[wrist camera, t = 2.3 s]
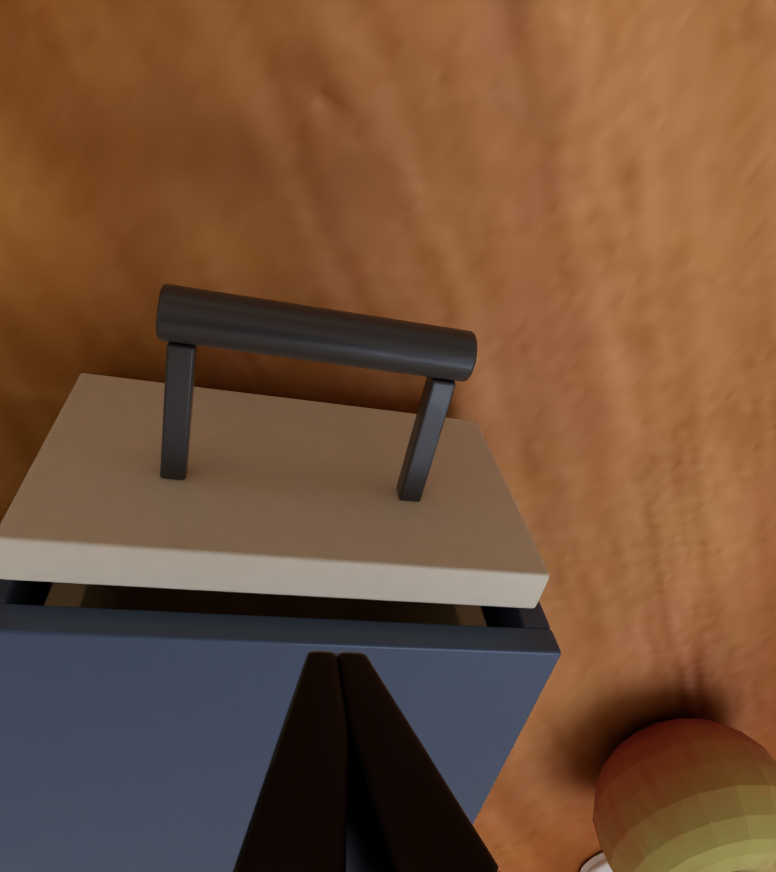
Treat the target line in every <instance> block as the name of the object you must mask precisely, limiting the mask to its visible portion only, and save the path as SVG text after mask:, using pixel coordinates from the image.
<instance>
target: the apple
mask: <svg viewBox="0 0 776 872" xmlns="http://www.w3.org/2000/svg"><path fill="white" fill-rule="evenodd" d="M593 822H594V826H595V829H596V833H597V836H598V840H599V844H600V846H601V848H602V850H603V853H604V855H605V857H606V860H607V862H608V864H609V866H610V868H611V870H612V871H613V872H776V762H775V761H774V759H773V758H772V757H771V755H770V754H769V753H768V752H767V750H766V749H765V748H764V747H763V746H762V745H760V744H759V743H757V742H756V741H754V740H753V739H751V738H750V737H748V736H747V735H745V734H744V733H742V732H741V731H738V730H736V729H733V728H730V727H728V726H725V725H722V724H719V723H716V722H714V721H711V720H708V719H697V718H677V719H672V720H667V721H663V722H659V723H654V724H652V725H650V726H648V727H645V728H643V729H641V730H639V731H637V732H635V733H634V734H633V735H631V736H630V737H628V738H627V739H626V740H624V741H623V742H622V743H620V744H619V745H618V746H617V747H616V749H615V750H614V751H613V753H612V754H611V755H610V757H609V758H608V759H607V761H606V762H605V763H604V765H603V766H602V769H601V771H600V774H599V776H598V780H597V786H596V792H595V800H594V812H593Z"/></svg>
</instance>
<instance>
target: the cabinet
mask: <svg viewBox="0 0 776 872" xmlns="http://www.w3.org/2000/svg"><path fill="white" fill-rule="evenodd" d="M52 583H53V582H41V581H22V580H4V579H0V872H233V869H234V866H235V863H236V860H237V857H238V854H239V851H240V849H241V846H242V843H243V840H244V837H245V834H246V831H247V828H248V825H249V822H250V819H251V816H252V813H253V811H254V808H255V805H256V802H257V799H258V796H259V793H260V790H261V787H262V784H263V781H264V778H265V775H266V773H267V770H268V767H269V764H270V761H271V758H272V755H273V752H274V749H275V746H276V743H277V740H278V737H279V735H280V732H281V729H282V726H283V723H284V720H285V717H286V714H287V711H288V708H289V705H290V702H291V699H292V697H293V694H294V691H295V688H296V685H297V682H298V679H299V676H300V673H301V670H302V667H303V664H304V661H305V658H306V656H307V654H308V652H309V651H312V650H316V651H333V652H334V653H335V654H336V655H337V654H338V653H339V652H342V651H343V652H362V653H364V654H366V655H367V657H368V658H369V660H370V661H371V663H372V664H373V666H374V668H375V669H376V671H377V672H378V674H379V676H380V677H381V679H382V680H383V682H384V684H385V685H386V687H387V689H388V690H389V692H390V693H391V695H392V697H393V698H394V700H395V701H396V703H397V705H398V706H399V708H400V709H401V711H402V713H403V714H404V716H405V717H406V719H407V721H408V722H409V724H410V725H411V727H412V729H413V730H414V732H415V733H416V735H417V737H418V738H419V740H420V741H421V743H422V745H423V746H424V748H425V750H426V751H427V753H428V754H429V756H430V758H431V759H432V761H433V762H434V764H435V766H436V767H437V769H438V770H439V772H440V774H441V775H442V777H443V778H444V780H445V782H446V783H447V785H448V786H449V788H450V790H451V791H452V793H453V794H454V796H455V798H456V799H457V801H458V802H459V804H460V806H461V807H462V809H463V811H464V812H465V814H466V815H467V817H468V819H469V820H470V822H471V823H472V825H473V823H474V821H475V819H476V817H477V815H478V813H479V811H480V809H481V808H482V806H483V804H484V802H485V800H486V798H487V796H488V794H489V792H490V790H491V788H492V786H493V784H494V782H495V780H496V779H497V777H498V775H499V773H500V771H501V769H502V767H503V765H504V763H505V761H506V759H507V757H508V755H509V753H510V751H511V750H512V748H513V746H514V744H515V742H516V740H517V738H518V736H519V734H520V732H521V730H522V728H523V726H524V724H525V722H526V721H527V719H528V717H529V715H530V713H531V711H532V709H533V707H534V705H535V703H536V701H537V699H538V697H539V695H540V693H541V692H542V690H543V688H544V686H545V684H546V682H547V680H548V678H549V676H550V674H551V672H552V670H553V668H554V666H555V664H556V663H557V661H558V659H559V657H560V655H561V651H560V649H559V646H558V644H557V642H556V639H555V637H554V635H553V633H552V631H551V630H550V626H549V623H548V621H547V619H546V616H545V614H544V612H543V610H542V607H541V605H540V603H539V601H538V603H537V605H536V607H535V608H515V607H497V606H481V609H482V612H483V615H484V618H485V621H486V624H487V626H467V625H446V624H424V623H403V622H382V621H361V620H340V619H318V618H297V617H276V616H255V615H234V614H213V613H191V612H170V611H149V610H128V609H107V608H86V607H64V606H44V603H45V601H46V598H47V596H48V593H49V590H50V588H51V585H52Z"/></svg>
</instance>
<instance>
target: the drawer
mask: <svg viewBox="0 0 776 872" xmlns="http://www.w3.org/2000/svg"><path fill="white" fill-rule="evenodd" d="M156 334H157V337H158V339H159V340H161V341H168V344H167V349H166V369H165V383H160V382H152V381H144V380H136V379H128V378H120V377H112V376H103V375H95V374H87V373H81V374H80V376H79V377H78V379H77V381H76V383H75V385H74V387H73V389H72V391H71V392H70V394H69V396H68V398H67V400H66V402H65V404H64V406H63V407H62V409H61V411H60V413H59V415H58V417H57V419H56V421H55V422H54V424H53V426H52V428H51V430H50V432H49V434H48V436H47V437H46V439H45V441H44V443H43V445H42V447H41V449H40V450H39V452H38V454H37V456H36V458H35V460H34V462H33V464H32V465H31V467H30V469H29V471H28V473H27V475H26V477H25V479H24V480H23V482H22V484H21V486H20V488H19V490H18V492H17V494H16V495H15V497H14V499H13V501H12V503H11V505H10V507H9V509H8V510H7V512H6V514H5V516H4V518H3V520H2V522H1V524H0V579H4V580H22V581H41V582H53V583H52V585H51V588H50V590H49V593H48V596H47V598H46V601H45V603H44V606H64V607H86V608H107V609H128V610H149V611H170V612H191V613H213V614H234V615H255V616H276V617H297V618H318V619H340V620H361V621H382V622H403V623H424V624H446V625H467V626H487V624H486V621H485V618H484V615H483V612H482V609H481V606H497V607H515V608H535V607H536V605H537V603H538V601H539V598H540V596H541V594H542V592H543V590H544V588H545V586H546V583H547V581H548V579H549V572H548V570H547V568H546V566H545V564H544V562H543V560H542V558H541V555H540V553H539V551H538V549H537V547H536V545H535V543H534V541H533V539H532V537H531V534H530V532H529V530H528V528H527V526H526V524H525V522H524V520H523V518H522V515H521V513H520V511H519V509H518V507H517V505H516V503H515V501H514V499H513V496H512V494H511V492H510V490H509V488H508V486H507V484H506V482H505V480H504V477H503V475H502V473H501V471H500V469H499V467H498V465H497V463H496V461H495V459H494V456H493V454H492V452H491V450H490V448H489V446H488V444H487V442H486V440H485V437H484V435H483V433H482V431H481V429H480V427H479V425H478V423H477V422H476V421H471V420H462V419H454V418H446V415H447V411H448V408H449V405H450V402H451V398H452V395H453V392H454V388H455V382H454V381H462V382H463V381H466V380H468V379H469V377H470V376H471V374H472V371H473V369H474V366H475V362H476V356H477V340H476V336H475V334H474V333H473V332H471V331H467V330H460V329H454V328H447V327H441V326H435V325H428V324H422V323H415V322H409V321H402V320H396V319H390V318H383V317H377V316H370V315H364V314H357V313H351V312H344V311H338V310H332V309H325V308H319V307H312V306H306V305H299V304H293V303H287V302H280V301H274V300H267V299H261V298H254V297H248V296H242V295H235V294H229V293H222V292H216V291H209V290H203V289H196V288H190V287H184V286H177V285H171V284H164V285H163V286H162V288H161V290H160V294H159V299H158V306H157V315H156ZM197 345H198V346H205V347H212V348H220V349H227V350H234V351H242V352H249V353H256V354H264V355H271V356H278V357H286V358H293V359H300V360H308V361H315V362H322V363H330V364H337V365H344V366H352V367H359V368H366V369H374V370H381V371H388V372H396V373H403V374H410V375H418V376H425V377H427V379H426V382H425V386H424V389H423V393H422V397H421V400H420V404H419V407H418V411H417V414H413V413H405V412H397V411H389V410H381V409H373V408H364V407H356V406H348V405H340V404H332V403H324V402H315V401H307V400H299V399H291V398H283V397H275V396H267V395H258V394H250V393H242V392H234V391H226V390H218V389H209V388H201V387H194V380H195V367H196V354H197Z"/></svg>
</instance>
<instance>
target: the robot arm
mask: <svg viewBox="0 0 776 872" xmlns="http://www.w3.org/2000/svg"><path fill="white" fill-rule="evenodd" d="M497 871H498V865H497V863H496V862H495V860H494V859H493V857H492V855H491V854H490V852H489V851H488V849H487V847H486V846H485V844H484V843H483V841H482V839H481V838H480V836H479V835H478V833H477V831H476V830H475V828H474V827H473V825H472V823H471V822H470V820H469V819H468V817H467V815H466V814H465V812H464V811H463V809H462V807H461V806H460V804H459V802H458V801H457V799H456V798H455V796H454V794H453V793H452V791H451V790H450V788H449V786H448V785H447V783H446V782H445V780H444V778H443V777H442V775H441V774H440V772H439V770H438V769H437V767H436V766H435V764H434V762H433V761H432V759H431V758H430V756H429V754H428V753H427V751H426V750H425V748H424V746H423V745H422V743H421V741H420V740H419V738H418V737H417V735H416V733H415V732H414V730H413V729H412V727H411V725H410V724H409V722H408V721H407V719H406V717H405V716H404V714H403V713H402V711H401V709H400V708H399V706H398V705H397V703H396V701H395V700H394V698H393V697H392V695H391V693H390V692H389V690H388V689H387V687H386V685H385V684H384V682H383V680H382V679H381V677H380V676H379V674H378V672H377V671H376V669H375V668H374V666H373V664H372V663H371V661H370V660H369V658H368V657H367V655H366V654H364V653H362V652H343V651H342V652H339V653H338V654H337V655H336V654H335V653H334V652H333V651H316V650H312V651H309V652H308V654H307V656H306V658H305V661H304V664H303V667H302V670H301V673H300V676H299V679H298V682H297V685H296V688H295V691H294V694H293V697H292V699H291V702H290V705H289V708H288V711H287V714H286V717H285V720H284V723H283V726H282V729H281V732H280V735H279V737H278V740H277V743H276V746H275V749H274V752H273V755H272V758H271V761H270V764H269V767H268V770H267V773H266V775H265V778H264V781H263V784H262V787H261V790H260V793H259V796H258V799H257V802H256V805H255V808H254V811H253V813H252V816H251V819H250V822H249V825H248V828H247V831H246V834H245V837H244V840H243V843H242V846H241V849H240V851H239V854H238V857H237V860H236V863H235V866H234V869H233V872H497Z"/></svg>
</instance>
